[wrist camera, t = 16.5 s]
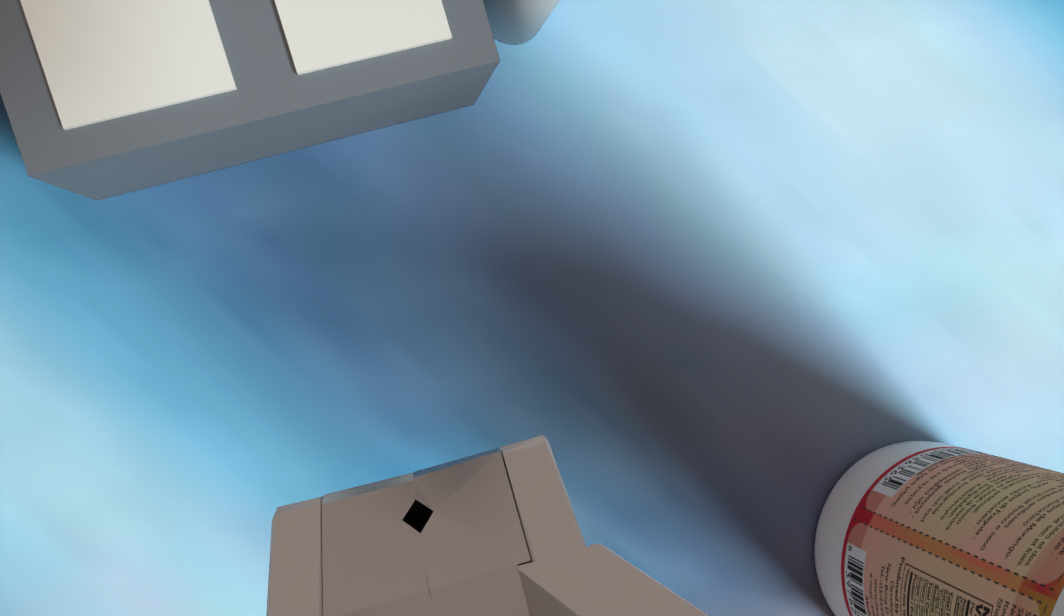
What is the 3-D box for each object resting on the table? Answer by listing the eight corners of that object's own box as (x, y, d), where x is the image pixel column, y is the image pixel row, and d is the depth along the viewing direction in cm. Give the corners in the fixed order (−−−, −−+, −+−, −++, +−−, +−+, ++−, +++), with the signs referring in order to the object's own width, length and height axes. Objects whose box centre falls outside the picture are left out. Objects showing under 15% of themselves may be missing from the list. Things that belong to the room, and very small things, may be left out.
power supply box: (517, -77, 31) (566, -191, 24) (562, 81, 32) (624, 17, 25) (37, 24, 28) (-79, -73, 21) (96, 200, 28) (4, 167, 21)
